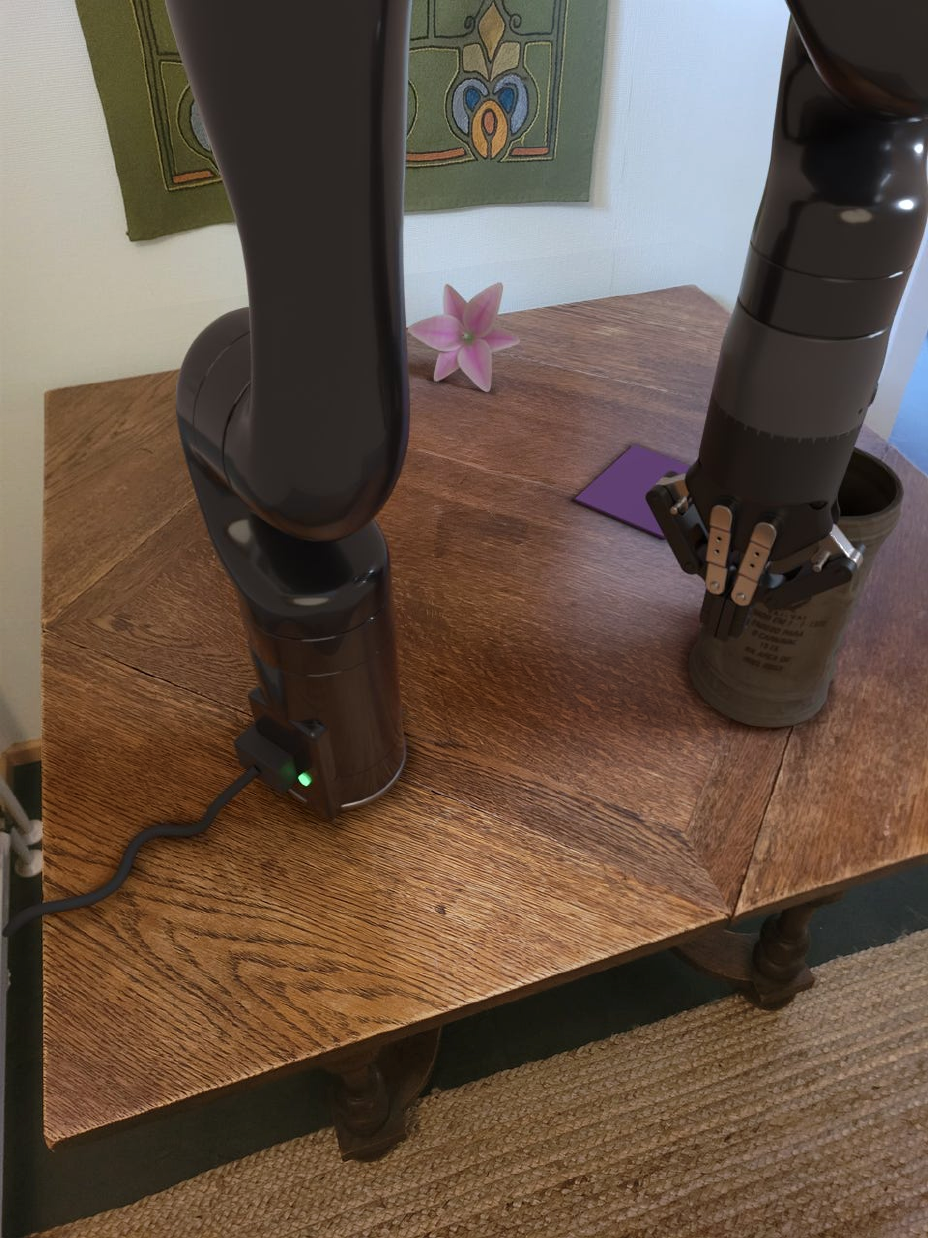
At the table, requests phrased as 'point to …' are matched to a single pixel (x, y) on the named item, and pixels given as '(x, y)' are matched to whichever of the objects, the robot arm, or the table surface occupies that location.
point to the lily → (466, 334)
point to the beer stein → (799, 619)
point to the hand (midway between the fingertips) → (721, 630)
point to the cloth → (630, 487)
